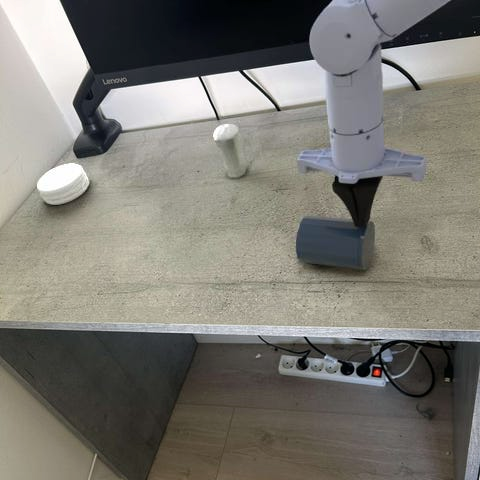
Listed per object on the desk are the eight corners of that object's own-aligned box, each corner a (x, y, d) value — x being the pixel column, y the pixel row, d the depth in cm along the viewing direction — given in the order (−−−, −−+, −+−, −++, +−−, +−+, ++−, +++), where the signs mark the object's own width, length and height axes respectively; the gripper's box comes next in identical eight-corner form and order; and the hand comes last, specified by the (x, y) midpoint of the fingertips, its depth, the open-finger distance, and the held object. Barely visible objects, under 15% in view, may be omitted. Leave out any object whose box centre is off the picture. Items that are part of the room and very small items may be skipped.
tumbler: (376, 215, 65) (312, 210, 69) (363, 229, 60) (295, 223, 64) (373, 260, 68) (312, 253, 72) (360, 277, 63) (295, 268, 67)
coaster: (86, 171, 105) (78, 156, 102) (93, 192, 98) (85, 177, 96) (42, 190, 104) (33, 176, 101) (47, 212, 97) (38, 197, 95)
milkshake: (249, 179, 88) (235, 127, 80) (222, 180, 90) (206, 129, 82) (256, 165, 90) (244, 113, 83) (229, 166, 92) (215, 116, 85)
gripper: (279, 139, 53) (297, 235, 63) (415, 144, 47) (412, 251, 57) (304, 106, 57) (317, 202, 67) (433, 106, 50) (427, 213, 60)
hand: (362, 222), depth 62 cm, fingers closed
